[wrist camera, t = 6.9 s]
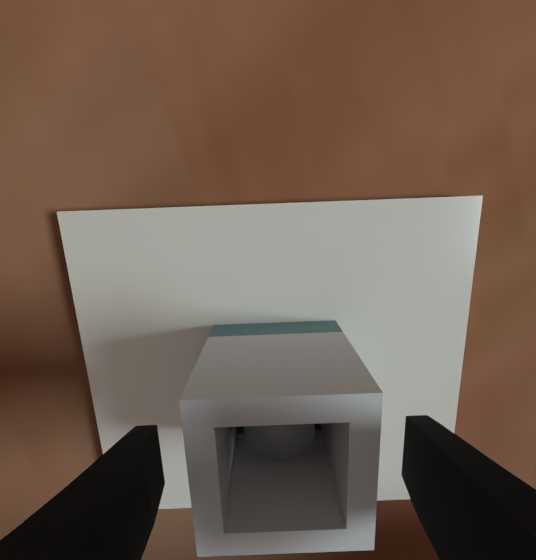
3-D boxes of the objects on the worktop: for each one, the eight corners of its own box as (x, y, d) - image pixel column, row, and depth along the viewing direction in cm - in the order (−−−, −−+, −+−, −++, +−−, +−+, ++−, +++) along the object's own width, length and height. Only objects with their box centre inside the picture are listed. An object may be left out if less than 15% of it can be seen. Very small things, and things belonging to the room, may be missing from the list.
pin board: (465, 196, 12) (580, 187, 8) (434, 479, 15) (504, 588, 11) (73, 211, 12) (-38, 211, 8) (123, 491, 15) (65, 605, 11)
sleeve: (335, 320, 12) (383, 393, 7) (333, 425, 13) (374, 550, 8) (213, 324, 12) (179, 400, 7) (222, 429, 13) (197, 557, 8)
